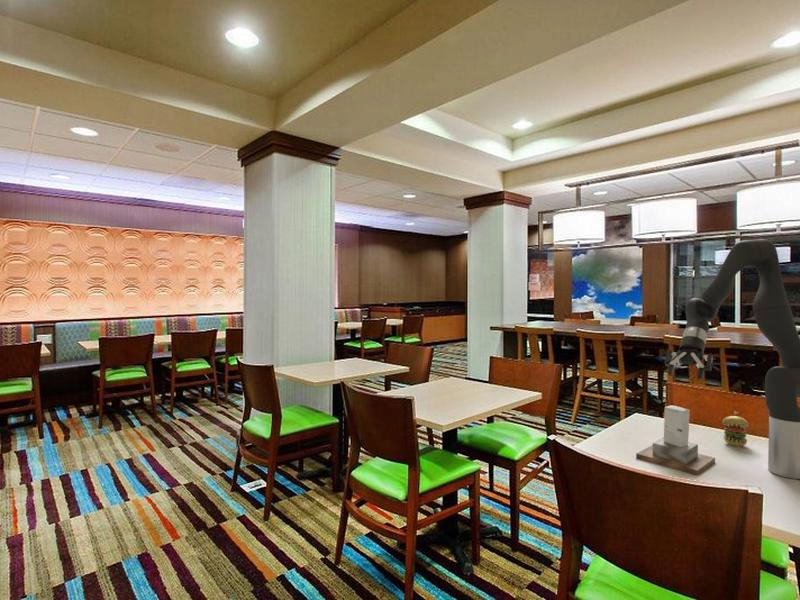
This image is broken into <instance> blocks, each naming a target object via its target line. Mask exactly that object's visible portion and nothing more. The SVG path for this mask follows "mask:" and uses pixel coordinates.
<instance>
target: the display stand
mask: <svg viewBox="0 0 800 600" xmlns="http://www.w3.org/2000/svg"><path fill="white" fill-rule="evenodd" d="M638 458H640V459H639V460H642V459H643V460H642V461H645V460H646V462H650V463H653V464H657V465H660V466H664V467H667V468H670V469H674V470H678V471H681V472H684V473H688V474H691V475H695V476H698V475H700V474H701V473H702V472H704V471H705V470H707V469H708V468H709V467H711V466H712V465H713V464H715V463H716V457H713V456H710V455H705V454H701V453H699V444H698V443H692V442H689V441H688V445H687V446H684V447H678V446H675V445H672V444H669V443H666V442H664V436H663V437H661V438H659V439H658V440H656V441H653V443H652V445H650V446H648V447H646V448H644V449H642V450H640V451H638V452H637V453H636V459H638Z"/></svg>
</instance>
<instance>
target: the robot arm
mask: <svg viewBox="0 0 800 600" xmlns="http://www.w3.org/2000/svg"><path fill="white" fill-rule="evenodd" d="M744 268H746V269H747V268H748V269H749V268H756V269H757V272H758V273H757V274H758V277H759V287H758V290H757V292H756V295H755V297H754V300H753V305H752V311H753V314H754V317H755V322H756V324H757V327H758V329H759V331H760V332H761V334H762V335H763V336H764V337H765V338H766V340H768V342H769V343H771V344H772V346H773V347H774V348H775V350H776V351H777V353H778V355H779V357H780V358H779V359H780V361H781V364H782V365H780V366H779V365H778V366H773V367H771V368H770V369H769V370H768V371H767V372H766V374H765V377H764V379H765V380H764V388H765V389H764V391H765V392H764V393H765V405H766V407H767V410H768V451H767V452H768V455H767V457H768V461H767V468H768V471H769V472H771V473H773V474H774V475H777V476H780V477H783V478H784V477H785V478H788V479H795V480H800V407H799V405H798V397H800V335H799V332H798V329H797V326H796V323H795V319H794V314H793V312H792V309H791V305H790V302H789V300H788V295H787V293H786V290H785V285H784V282H783V279H782V273H781V265H780V260H779V254H778V252H777V248H776V246H775V244H774V243H773V242H772V241H771V240H769V239H766V238H765V239H763V238H759V239H745V240H744V239H743V240H740V241H737V242H736V243H735V244H734V245H733V246H732V247H731V249H730V251H729V252H728V253H727V256H726V258H725V259H724V261H723V263H722V264H721V267H720V269H719V270H718V272H717V274H716V276H715V277H714V278H713V280H712V281H711V282H710V284H709V285H708V286H707V287H706V288H705V289H704V291H702V293H701V298H698V297H693V298H691V299H689V300H688V301H687V303H685V304H686V305H685V309H684V310H685V311H684V312H685V316H686V325H685V328H684V331H683V334H682V337H681V340H680V343H679V344H680V345H679V348H678V351H676V352H675V351H672V350H671V349H670V350H669V349H668V351H667V354H666V356H665V359H664V364H665V366H666V367H668V369H667V374H668V375H669V376H670V377H673V376H674V373H675V369H676V368H677V367H680V366H681V365H689V366H694V365H695V366H696V367H697V369H698V370H697V374H696V378H697V381H700V380H702V379H703V378H704V374H705V372H712V368H713V362H714V361H713V360H714V358H713V354H712V353H708V354H704V352H705V347H706V344H707V340H708V339H707V335H708V332H709V331H708V330H709V327H710V323H709V322H710V321H713V320H715V319H716V318H717V316H718V313H719V309H720V307H721V305H722V304H723V302H724V301H725V300H726V299H727V298H728V297H729V296H730V294H731V293H732V292H733V290H734V288H735V277H736V275H737V274H738V273H739V272H740V271H742V270H743V269H744ZM702 360H705V361H706V365H704V363H702V362H701V361H702Z"/></svg>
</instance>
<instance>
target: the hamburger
mask: <svg viewBox="0 0 800 600" xmlns="http://www.w3.org/2000/svg"><path fill="white" fill-rule="evenodd" d="M733 414H734V415H729V416H726V417H724V418H723V419H722V425H723V426H725V427H724V428H723V430H724V431H723V434H724V435H723V439H724V441H725V442H726V443H727V444H729V445H731V446H733V447H737V446H740V447H744V446H745V445H746V444H747V443H748V439H747V434H748V432H747V430H746V428H748V427H749V422H748V420H746V419H745V418H743V417H741V416H738V415H737V414H739V411H736V410H733ZM736 415H737V416H736Z"/></svg>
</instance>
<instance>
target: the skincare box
mask: <svg viewBox="0 0 800 600" xmlns="http://www.w3.org/2000/svg"><path fill="white" fill-rule="evenodd" d="M690 410H691V409H690V408H689V409H688V408H684V407H682V406H681V407H680V406H677V405H673V404H672V405H668V406H667V405H666V406H665V407H664V421H663V422H664V424H663V437H664V442H666V443H669V444H672V445H675V446H678V447H684V446H687V445H688V442H689V433H690V432H689V431H690V412H691V411H690Z"/></svg>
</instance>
